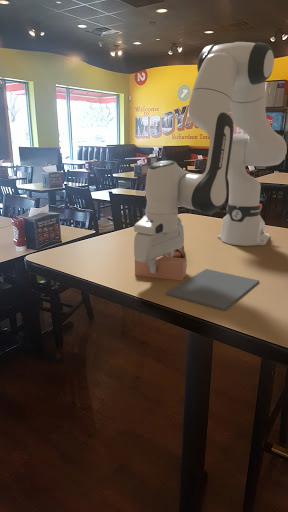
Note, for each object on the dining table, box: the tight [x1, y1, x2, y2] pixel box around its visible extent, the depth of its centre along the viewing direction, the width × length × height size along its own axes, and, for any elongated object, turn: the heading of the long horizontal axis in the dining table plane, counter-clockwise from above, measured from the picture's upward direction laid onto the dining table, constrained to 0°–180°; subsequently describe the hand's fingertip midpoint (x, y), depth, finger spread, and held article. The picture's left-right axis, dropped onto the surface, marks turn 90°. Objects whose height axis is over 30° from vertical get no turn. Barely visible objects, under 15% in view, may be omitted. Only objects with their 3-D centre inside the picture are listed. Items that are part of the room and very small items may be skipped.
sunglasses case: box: [163, 244, 186, 258], centre depth 124 cm, size 18×7×7 cm
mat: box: [165, 268, 260, 312], centre depth 99 cm, size 22×16×1 cm
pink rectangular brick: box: [134, 256, 187, 281], centre depth 108 cm, size 4×14×5 cm, turn 72°
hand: (160, 269), depth 108 cm, fingers closed on pink rectangular brick, 5 cm apart
